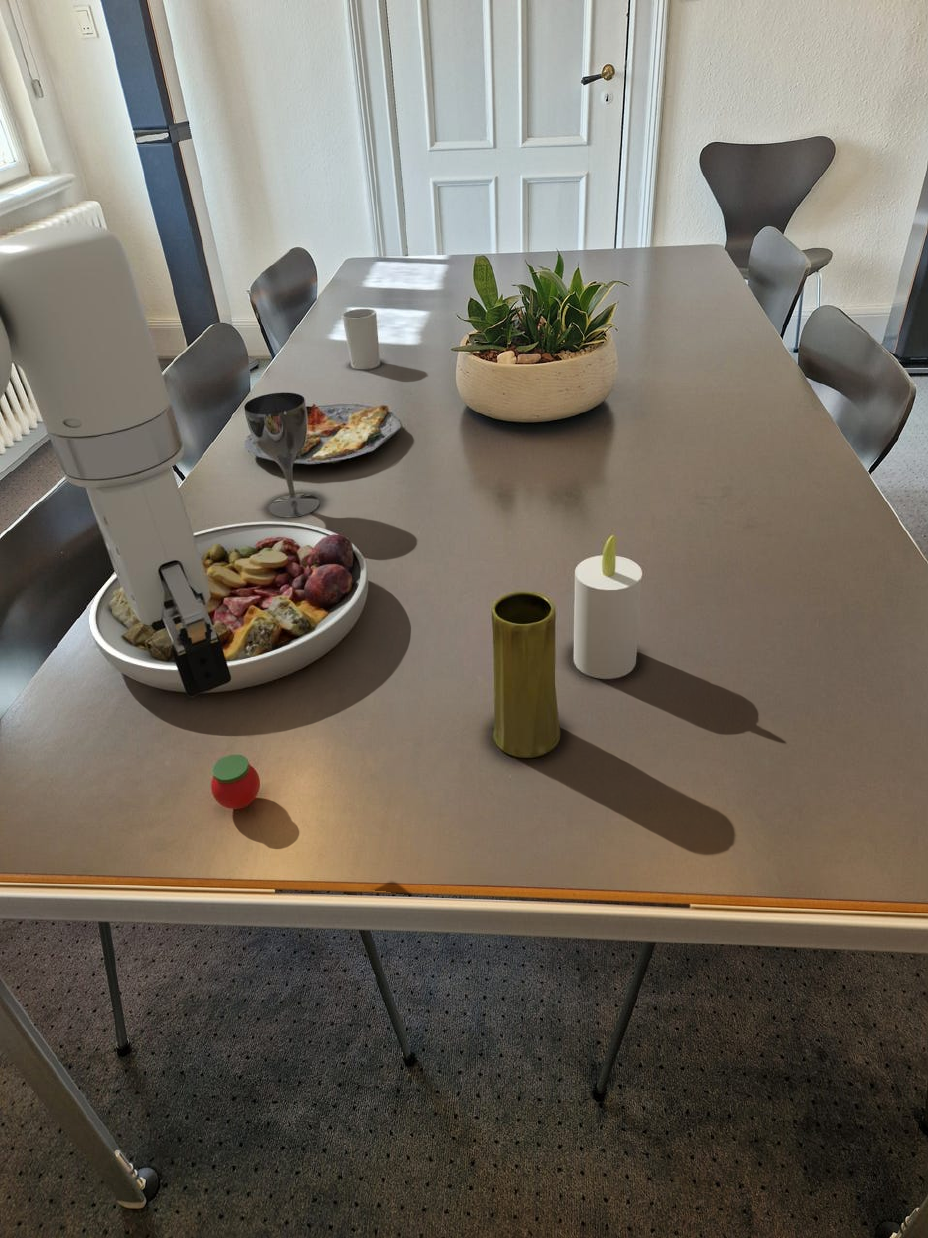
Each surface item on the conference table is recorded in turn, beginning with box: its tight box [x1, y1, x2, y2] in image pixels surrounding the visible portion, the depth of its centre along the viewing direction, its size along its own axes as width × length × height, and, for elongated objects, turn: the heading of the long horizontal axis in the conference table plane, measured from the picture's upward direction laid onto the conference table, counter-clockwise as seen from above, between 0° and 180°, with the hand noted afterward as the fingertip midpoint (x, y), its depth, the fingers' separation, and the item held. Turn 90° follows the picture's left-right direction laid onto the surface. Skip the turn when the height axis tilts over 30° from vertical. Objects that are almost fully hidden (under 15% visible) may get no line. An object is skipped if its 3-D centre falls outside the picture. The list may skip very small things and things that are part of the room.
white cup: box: [341, 308, 381, 370], centre depth 167 cm, size 7×7×10 cm
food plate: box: [243, 403, 403, 465], centre depth 137 cm, size 25×23×4 cm
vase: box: [491, 590, 561, 759], centre depth 74 cm, size 6×6×14 cm
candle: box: [573, 534, 643, 680], centre depth 83 cm, size 6×6×15 cm
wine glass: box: [243, 392, 321, 518], centre depth 116 cm, size 8×8×15 cm
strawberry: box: [210, 754, 261, 810], centre depth 72 cm, size 4×4×4 cm
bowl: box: [88, 521, 369, 694], centre depth 94 cm, size 30×30×8 cm
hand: (190, 653), depth 64 cm, fingers open, 9 cm apart
